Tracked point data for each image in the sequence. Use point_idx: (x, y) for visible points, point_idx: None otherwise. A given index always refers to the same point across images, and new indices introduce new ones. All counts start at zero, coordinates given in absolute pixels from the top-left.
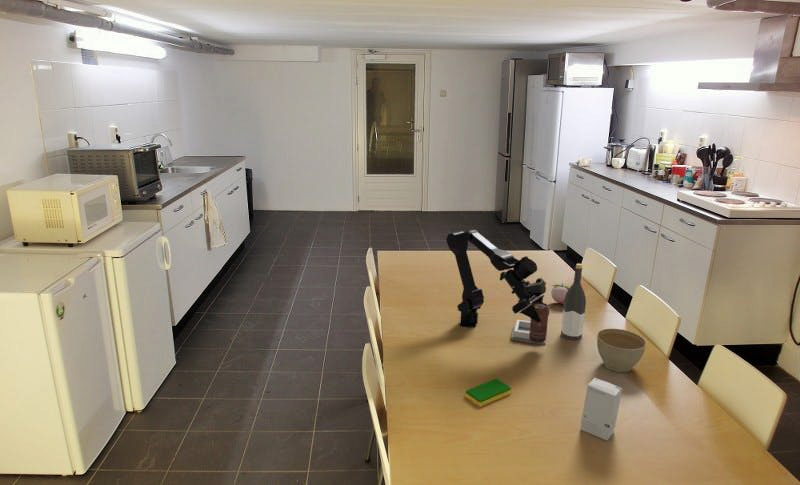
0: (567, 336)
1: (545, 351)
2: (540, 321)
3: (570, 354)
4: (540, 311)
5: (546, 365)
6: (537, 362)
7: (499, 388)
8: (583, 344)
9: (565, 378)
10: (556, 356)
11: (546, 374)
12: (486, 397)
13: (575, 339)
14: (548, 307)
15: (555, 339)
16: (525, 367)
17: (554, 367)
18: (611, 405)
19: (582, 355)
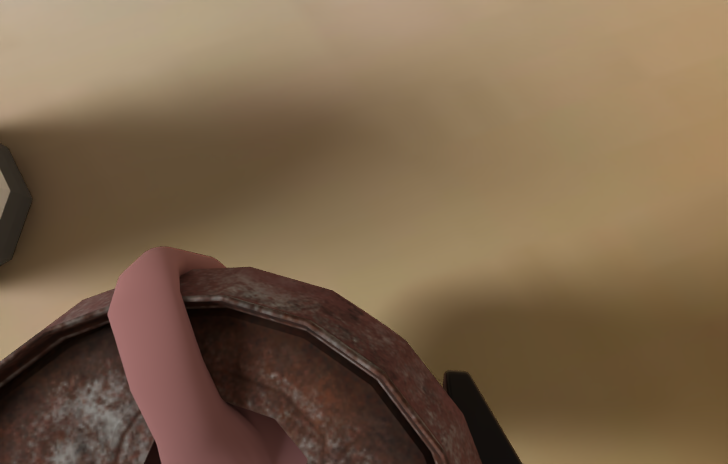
0: (10, 216)
1: None
2: (456, 372)
3: (277, 118)
4: (478, 455)
5: (562, 210)
6: (561, 287)
7: None
8: (63, 90)
9: (662, 34)
10: (370, 194)
11: (700, 163)
12: None
13: (12, 160)
14: (164, 271)
15: (82, 297)
16: (707, 341)
17: (554, 150)
18: None
19: (244, 43)
